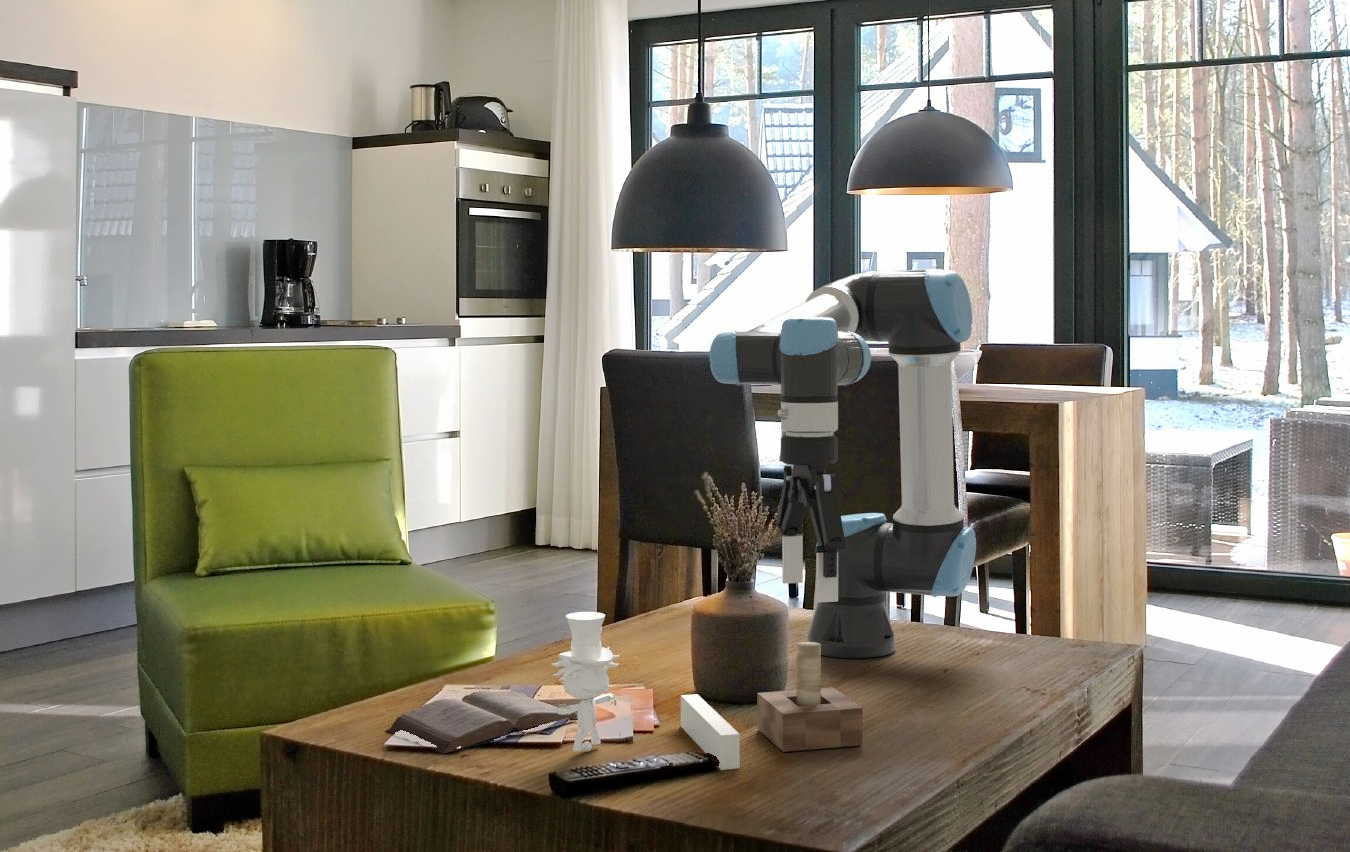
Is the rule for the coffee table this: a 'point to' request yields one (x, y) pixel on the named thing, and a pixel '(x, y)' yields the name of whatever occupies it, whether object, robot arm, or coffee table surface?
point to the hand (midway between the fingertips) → (809, 592)
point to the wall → (710, 731)
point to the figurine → (586, 674)
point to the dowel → (808, 673)
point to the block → (809, 720)
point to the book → (475, 719)
